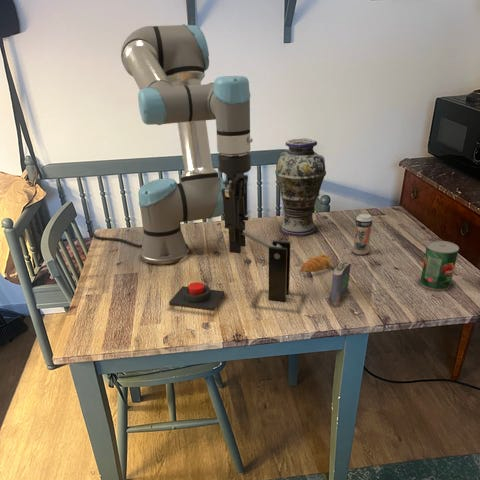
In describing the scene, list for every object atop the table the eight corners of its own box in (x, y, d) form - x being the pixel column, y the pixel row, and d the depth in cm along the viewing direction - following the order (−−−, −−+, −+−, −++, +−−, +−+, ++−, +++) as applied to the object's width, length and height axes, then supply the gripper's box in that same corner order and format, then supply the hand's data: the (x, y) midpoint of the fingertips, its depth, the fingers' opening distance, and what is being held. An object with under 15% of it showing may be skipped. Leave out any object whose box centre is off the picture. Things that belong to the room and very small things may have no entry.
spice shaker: (351, 254, 146) (355, 217, 139) (354, 248, 149) (357, 212, 143) (366, 256, 144) (371, 219, 138) (369, 250, 148) (373, 214, 141)
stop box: (169, 309, 120) (168, 295, 118) (183, 293, 127) (182, 280, 125) (213, 315, 117) (212, 301, 115) (224, 298, 124) (224, 284, 122)
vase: (310, 242, 155) (315, 148, 139) (265, 233, 163) (265, 143, 148) (330, 226, 167) (336, 138, 151) (287, 219, 175) (289, 134, 159)
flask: (338, 306, 118) (341, 268, 113) (327, 304, 119) (329, 266, 114) (349, 291, 125) (352, 254, 119) (338, 289, 126) (341, 252, 121)
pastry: (311, 278, 132) (312, 266, 130) (295, 271, 137) (295, 259, 135) (333, 269, 137) (334, 257, 135) (317, 262, 141) (317, 250, 140)
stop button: (186, 294, 119) (186, 288, 118) (192, 287, 122) (191, 281, 121) (201, 296, 118) (200, 290, 117) (206, 288, 121) (206, 283, 120)
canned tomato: (451, 291, 123) (460, 253, 117) (420, 288, 125) (427, 250, 119) (449, 278, 129) (457, 241, 124) (419, 276, 131) (426, 239, 126)
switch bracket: (252, 306, 120) (251, 249, 111) (261, 290, 127) (260, 236, 119) (298, 312, 116) (300, 254, 108) (304, 295, 124) (307, 239, 115)
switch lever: (225, 233, 114) (230, 221, 112) (230, 228, 117) (235, 216, 115) (279, 263, 114) (286, 251, 112) (283, 257, 117) (289, 245, 115)
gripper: (239, 162, 97) (242, 264, 110) (259, 146, 111) (260, 238, 123) (205, 160, 99) (212, 261, 112) (229, 145, 113) (233, 236, 125)
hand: (237, 248), depth 117 cm, fingers closed on switch lever, 4 cm apart
